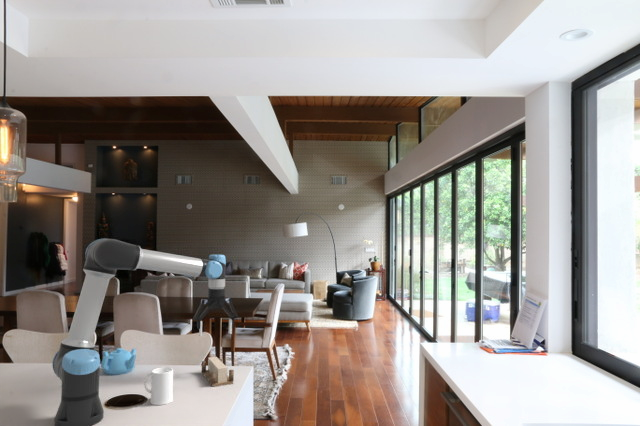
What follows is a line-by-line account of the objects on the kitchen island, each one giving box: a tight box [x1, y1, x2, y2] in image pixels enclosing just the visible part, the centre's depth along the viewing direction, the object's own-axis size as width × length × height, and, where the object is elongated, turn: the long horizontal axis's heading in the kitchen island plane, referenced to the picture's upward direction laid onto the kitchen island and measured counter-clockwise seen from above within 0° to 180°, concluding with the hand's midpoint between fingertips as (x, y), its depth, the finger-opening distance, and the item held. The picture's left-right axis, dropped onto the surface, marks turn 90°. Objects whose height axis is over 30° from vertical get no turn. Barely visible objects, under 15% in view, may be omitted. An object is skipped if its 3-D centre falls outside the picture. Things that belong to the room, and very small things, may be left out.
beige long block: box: [207, 356, 228, 383], centre depth 204 cm, size 20×4×6 cm, turn 26°
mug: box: [143, 367, 174, 406], centre depth 175 cm, size 12×8×12 cm
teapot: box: [100, 347, 137, 376], centre depth 214 cm, size 15×15×11 cm
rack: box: [201, 358, 235, 388], centre depth 204 cm, size 22×10×6 cm, turn 26°
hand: (215, 334), depth 205 cm, fingers open, 13 cm apart
